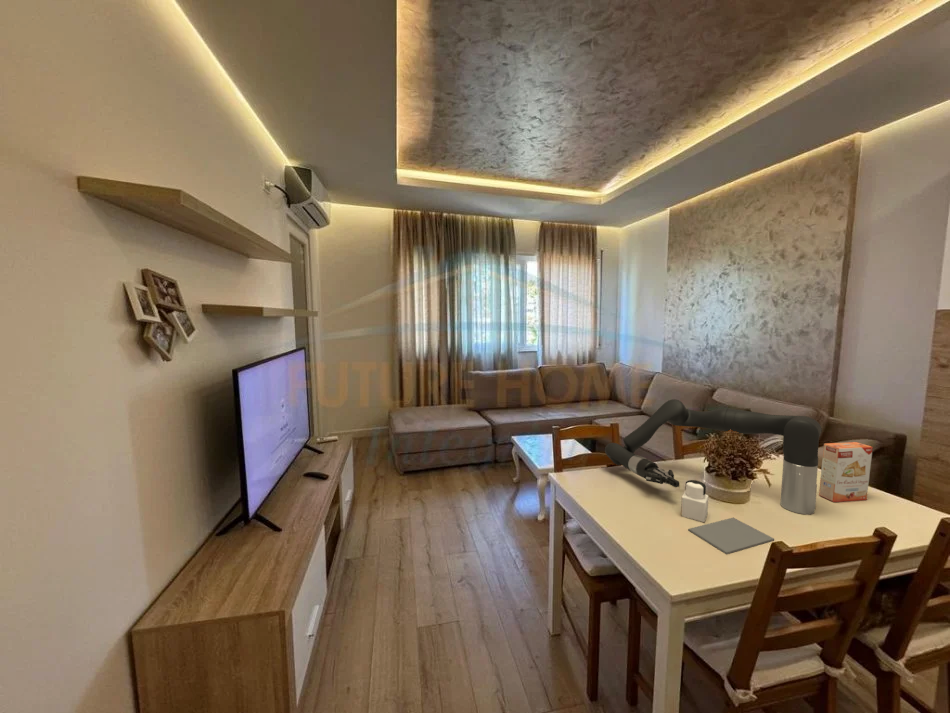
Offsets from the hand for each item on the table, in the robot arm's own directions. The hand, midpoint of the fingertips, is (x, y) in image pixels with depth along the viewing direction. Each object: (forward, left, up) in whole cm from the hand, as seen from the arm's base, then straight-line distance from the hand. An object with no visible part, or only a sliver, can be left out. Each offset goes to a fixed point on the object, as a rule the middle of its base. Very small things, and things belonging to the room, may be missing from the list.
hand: (677, 484), depth 136 cm
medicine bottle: (0, +7, -8) cm, 11 cm away
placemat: (0, +20, -8) cm, 22 cm away
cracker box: (-62, +17, -8) cm, 65 cm away
